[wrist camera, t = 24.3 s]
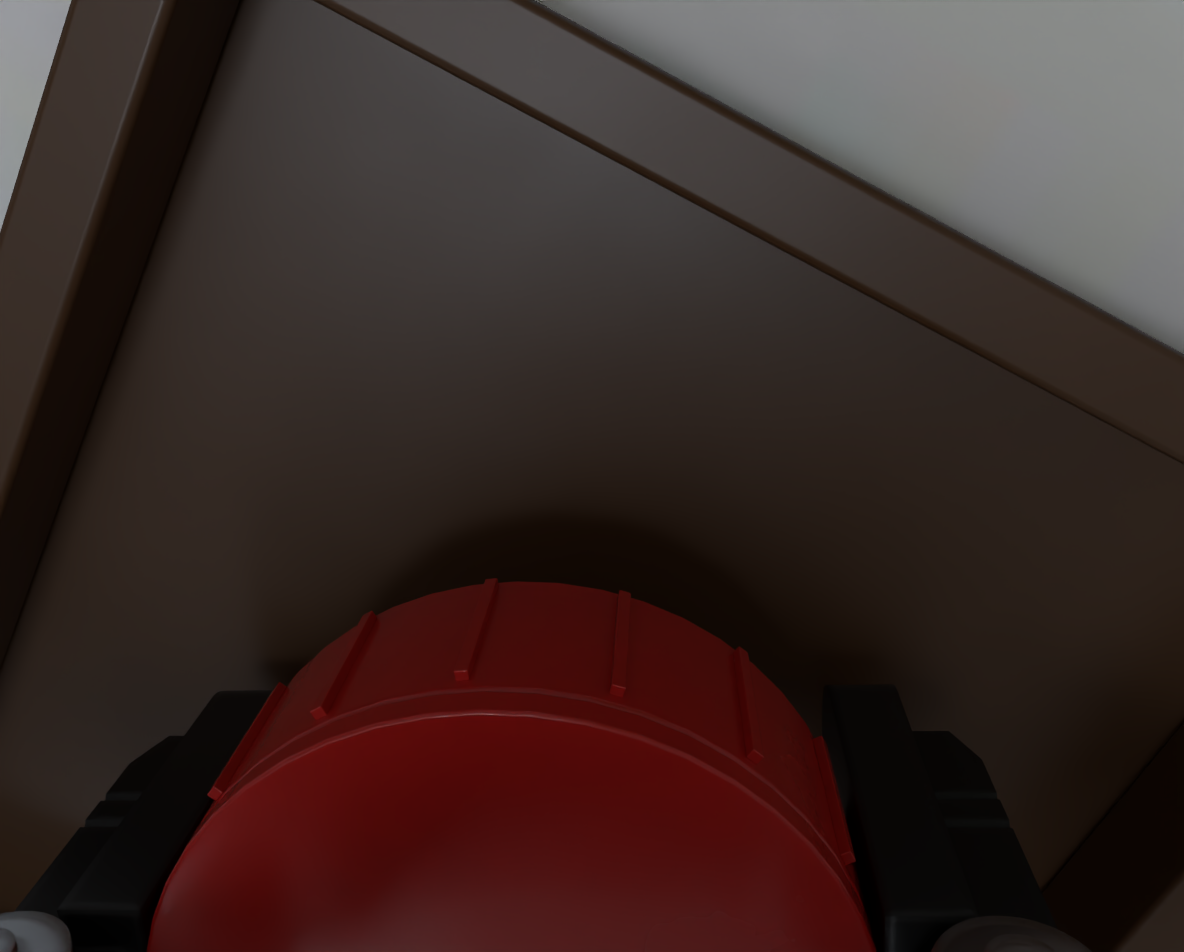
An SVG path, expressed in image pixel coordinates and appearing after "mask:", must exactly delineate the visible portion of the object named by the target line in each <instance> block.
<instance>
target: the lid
mask: <svg viewBox="0 0 1184 952" xmlns="http://www.w3.org/2000/svg"><path fill="white" fill-rule="evenodd" d="M207 795H208V796H209V797H210V798H212V799H213V800H214V801H213V803H212V805H211V806H210V808H209V810H208V811H207V813H206V814H205V816H204V818H203V819H202V821H201V823H200V825H199V826H198V827H197V829H196V831H195V832H194V834H193V836H192V837H191V839H190V840H189V842H188V844H187V845H186V847H185V849H184V851H183V852H182V854H181V856H180V858H179V859H178V861H177V863H176V865H175V866H174V868H173V870H172V872H171V873H170V875H169V877H168V879H167V880H166V883H165V885H164V888H163V891H162V893H161V896H160V899H159V902H158V904H157V907H156V910H155V913H154V915H153V918H152V924H151V929H150V935H149V940H148V946H147V951H146V952H877V949H876V945H875V941H874V937H873V933H872V930H871V925H870V921H869V917H868V913H867V909H866V905H865V901H864V897H863V893H862V889H861V885H860V881H859V877H858V873H857V869H856V865H855V861H856V859H855V855H854V851H853V847H852V843H851V839H850V835H849V831H848V827H847V823H846V820H845V816H844V812H843V808H842V804H841V800H840V796H839V792H838V788H837V784H836V780H835V776H834V772H833V768H832V764H831V760H830V756H829V752H828V748H827V744H826V742H825V740H824V738H823V737H822V736H819V737H816V738H814V737H813V735H812V733H811V732H810V730H809V728H808V726H807V725H806V723H805V721H804V720H803V719H802V717H801V716H800V715H799V714H798V712H797V711H796V710H795V708H794V707H793V706H792V704H791V703H790V702H789V701H788V699H787V698H786V697H785V695H784V694H783V693H782V692H781V691H780V690H779V689H778V688H777V687H776V686H775V685H774V684H773V683H772V682H771V681H770V680H769V679H768V678H767V677H766V676H765V675H764V674H763V673H762V672H761V671H760V670H759V669H758V668H757V667H756V666H755V665H754V664H753V663H752V662H750V661H749V656H748V652H746V651H745V650H744V649H742V648H741V647H738V648H737V649H736V650H734V649H733V648H732V647H730V646H729V645H728V644H726V643H725V642H724V641H722V640H721V639H719V638H718V637H716V636H714V635H712V634H711V633H709V632H707V631H705V630H704V629H702V628H700V627H698V626H697V625H695V624H693V623H691V622H689V621H688V620H686V619H684V618H682V617H680V616H678V615H675V614H673V613H670V612H668V611H666V610H663V609H661V608H658V607H656V606H654V605H651V604H649V603H646V602H644V601H641V600H637V599H634V598H631V593H629V592H625V591H622V590H619V593H618V594H616V593H612V592H609V591H605V590H602V589H595V588H589V587H583V586H576V585H570V584H563V583H550V582H522V581H514V582H502V583H498V579H497V578H493V579H485V582H484V584H478V585H471V586H466V587H461V588H457V589H452V590H447V591H442V592H438V593H433V594H429V595H426V596H424V597H421V598H418V599H415V600H412V601H409V602H406V603H403V604H401V605H398V606H395V607H392V608H390V609H388V610H386V611H384V612H382V613H380V614H378V615H375V614H374V612H373V611H370V612H368V613H366V614H364V615H363V616H362V618H361V619H360V621H359V623H358V625H357V626H355V627H354V628H352V629H351V630H349V631H348V632H346V633H345V634H343V635H342V636H341V637H339V638H338V639H336V640H335V641H333V642H332V643H330V644H329V645H327V646H326V647H325V648H324V649H323V650H322V651H321V652H319V653H318V654H317V655H316V656H315V657H314V658H313V659H312V660H311V661H310V662H309V663H308V664H306V665H305V666H304V667H303V668H302V669H301V670H300V671H299V672H298V673H297V674H296V676H295V677H294V678H293V679H292V681H291V682H290V683H289V684H288V686H285V685H284V684H282V683H281V682H279V683H278V684H277V685H276V687H275V688H274V689H273V691H272V692H271V694H270V695H269V697H268V699H267V700H266V702H265V703H264V705H263V707H262V708H261V710H260V711H259V713H258V715H257V716H256V718H255V719H254V721H253V722H252V724H251V726H250V727H249V729H248V730H247V732H246V734H245V735H244V737H243V738H242V740H241V741H240V743H239V745H238V746H237V748H236V749H235V751H234V753H233V754H232V756H231V757H230V759H229V761H228V762H227V764H226V765H225V767H224V768H223V770H222V772H221V773H220V775H219V776H218V778H217V780H216V781H215V783H214V784H213V786H212V788H211V789H210V791H209V792H208V794H207Z"/></svg>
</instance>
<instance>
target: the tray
mask: <svg viewBox="0 0 1184 952" xmlns="http://www.w3.org/2000/svg"><path fill="white" fill-rule="evenodd" d="M493 578H497V579H498V583H502V582H514V581H522V582H550V583H563V584H570V585H576V586H583V587H589V588H595V589H602V590H605V591H609V592H612V593H616V594H618V593H619V590H622V591H625V592H629V593H631V598H634V599H637V600H641V601H644V602H646V603H649V604H651V605H654V606H656V607H658V608H661V609H663V610H666V611H668V612H670V613H673V614H675V615H678V616H680V617H682V618H684V619H686V620H688V621H689V622H691V623H693V624H695V625H697V626H698V627H700V628H702V629H704V630H705V631H707V632H709V633H711V634H712V635H714V636H716V637H718V638H719V639H721V640H722V641H724V642H725V643H726V644H728V645H729V646H730V647H732V648H733V649H734V650H736V649H737V648H738V647H741V648H742V649H744V650H745V651H746V652H748V656H749V661H750V662H752V663H753V664H754V665H755V666H756V667H757V668H758V669H759V670H760V671H761V672H762V673H763V674H764V675H765V676H766V677H767V678H768V679H769V680H770V681H771V682H772V683H773V684H774V685H775V686H776V687H777V688H778V689H779V690H780V691H781V692H782V693H783V694H784V695H785V697H786V698H787V699H788V701H789V702H790V703H791V704H792V706H793V707H794V708H795V710H796V711H797V712H798V714H799V715H800V716H801V717H802V719H803V720H804V721H805V723H806V725H807V726H808V728H809V730H810V732H811V733H812V735H813V737H814V738H816V737H819V736H822V701H823V691H824V687H825V685H882V684H893V685H895V687H896V688H897V691H898V693H899V696H900V699H901V702H902V704H903V707H904V710H905V713H906V715H907V718H908V721H909V724H910V727H911V729H912V731H950V732H951V733H952V734H953V735H954V736H955V737H957V738H958V739H959V740H960V741H961V742H962V743H964V744H965V745H966V746H967V747H968V748H969V749H971V750H972V751H973V752H974V753H975V754H976V755H978V756H979V757H980V758H981V759H982V760H983V763H984V765H985V767H986V769H987V772H988V774H989V776H990V778H991V781H992V783H993V785H994V787H995V790H996V792H997V799H1000V801H1001V803H1002V805H1003V807H1004V810H1005V812H1006V814H1007V816H1008V819H1009V824H1010V828H1013V830H1014V832H1015V834H1016V836H1017V839H1018V841H1019V843H1020V845H1021V848H1022V850H1023V852H1024V854H1025V857H1026V859H1027V861H1028V863H1029V865H1030V868H1031V870H1032V872H1033V874H1034V877H1035V879H1036V881H1037V883H1038V886H1039V888H1040V890H1041V892H1042V895H1043V897H1044V899H1045V901H1046V903H1047V906H1048V908H1049V910H1050V912H1051V915H1052V917H1053V919H1054V921H1055V924H1056V926H1057V928H1058V930H1060V931H1062V932H1064V933H1066V934H1068V935H1069V936H1071V937H1073V938H1074V939H1076V940H1078V941H1079V942H1081V943H1082V944H1083V945H1084V946H1086V947H1087V948H1088V949H1090V950H1091V951H1092V952H1184V354H1182V353H1181V352H1179V351H1177V350H1175V349H1173V348H1171V347H1170V346H1168V345H1166V344H1164V343H1162V342H1160V341H1159V340H1157V339H1155V338H1153V337H1151V336H1149V335H1148V334H1146V333H1144V332H1142V331H1140V330H1138V329H1136V328H1135V327H1133V326H1131V325H1129V324H1127V323H1125V322H1124V321H1122V320H1120V319H1118V318H1116V317H1114V316H1113V315H1111V314H1109V313H1107V312H1105V311H1103V310H1102V309H1100V308H1098V307H1096V306H1094V305H1092V304H1091V303H1089V302H1087V301H1085V300H1083V299H1081V298H1080V297H1078V296H1076V295H1074V294H1072V293H1070V292H1069V291H1067V290H1065V289H1063V288H1061V287H1059V286H1058V285H1056V284H1054V283H1052V282H1050V281H1048V280H1047V279H1045V278H1043V277H1041V276H1039V275H1037V274H1036V273H1034V272H1032V271H1030V270H1028V269H1026V268H1025V267H1023V266H1021V265H1019V264H1017V263H1015V262H1014V261H1012V260H1010V259H1008V258H1006V257H1004V256H1002V255H1001V254H999V253H997V252H995V251H993V250H991V249H990V248H988V247H986V246H984V245H982V244H980V243H979V242H977V241H975V240H973V239H971V238H969V237H968V236H966V235H964V234H962V233H960V232H958V231H957V230H955V229H953V228H951V227H949V226H947V225H946V224H944V223H942V222H940V221H938V220H936V219H935V218H933V217H931V216H929V215H927V214H925V213H924V212H922V211H920V210H918V209H916V208H914V207H913V206H911V205H909V204H907V203H905V202H903V201H902V200H900V199H898V198H896V197H894V196H892V195H891V194H889V193H887V192H885V191H883V190H881V189H880V188H878V187H876V186H874V185H872V184H870V183H869V182H867V181H865V180H863V179H861V178H859V177H857V176H856V175H854V174H852V173H850V172H848V171H846V170H845V169H843V168H841V167H839V166H837V165H835V164H834V163H832V162H830V161H828V160H826V159H824V158H823V157H821V156H819V155H817V154H815V153H813V152H812V151H810V150H808V149H806V148H804V147H802V146H801V145H799V144H797V143H795V142H793V141H791V140H790V139H788V138H786V137H784V136H782V135H780V134H779V133H777V132H775V131H773V130H771V129H769V128H768V127H766V126H764V125H762V124H760V123H758V122H757V121H755V120H753V119H751V118H749V117H747V116H746V115H744V114H742V113H740V112H738V111H736V110H735V109H733V108H731V107H729V106H727V105H725V104H723V103H722V102H720V101H718V100H716V99H714V98H712V97H711V96H709V95H707V94H705V93H703V92H701V91H700V90H698V89H696V88H694V87H692V86H690V85H689V84H687V83H685V82H683V81H681V80H679V79H678V78H676V77H674V76H672V75H670V74H668V73H667V72H665V71H663V70H661V69H659V68H657V67H656V66H654V65H652V64H650V63H648V62H646V61H645V60H643V59H641V58H639V57H637V56H635V55H634V54H632V53H630V52H628V51H626V50H624V49H623V48H621V47H619V46H617V45H615V44H613V43H612V42H610V41H608V40H606V39H604V38H602V37H601V36H599V35H597V34H595V33H593V32H591V31H590V30H588V29H586V28H584V27H582V26H580V25H578V24H577V23H575V22H573V21H571V20H569V19H567V18H566V17H564V16H562V15H560V14H558V13H556V12H555V11H553V10H551V9H549V8H547V7H545V6H544V5H542V4H540V3H538V2H536V1H534V0H72V1H71V4H70V7H69V11H68V14H67V17H66V20H65V24H64V27H63V30H62V33H61V37H60V40H59V43H58V46H57V50H56V53H55V56H54V59H53V63H52V66H51V69H50V72H49V76H48V79H47V82H46V85H45V89H44V92H43V95H42V98H41V102H40V105H39V108H38V111H37V115H36V118H35V121H34V125H33V128H32V131H31V134H30V138H29V141H28V144H27V147H26V151H25V154H24V157H23V160H22V164H21V167H20V170H19V173H18V177H17V180H16V183H15V186H14V190H13V193H12V196H11V199H10V203H9V206H8V209H7V212H6V216H5V219H4V222H3V225H2V229H1V232H0V914H1V913H6V912H14V911H15V910H16V908H17V907H18V906H19V904H20V903H21V902H22V901H23V899H24V898H25V897H26V896H27V894H28V893H29V892H30V890H31V889H32V888H33V887H34V885H35V884H36V883H37V881H38V880H39V879H40V878H41V876H42V875H43V874H44V872H45V871H46V870H47V869H48V867H49V866H50V865H51V864H52V862H53V861H54V860H55V858H56V857H57V856H58V855H59V853H60V852H61V851H62V849H63V848H64V847H65V846H66V844H67V843H68V842H69V840H70V839H71V838H72V837H73V835H74V834H75V833H76V832H77V830H78V829H79V828H80V827H85V820H86V819H87V817H88V816H89V815H90V814H91V812H92V811H93V810H94V808H95V807H96V806H97V805H98V803H99V802H100V801H105V798H106V795H105V794H106V793H107V792H108V791H109V789H110V788H111V787H112V785H113V784H114V783H115V782H116V780H117V779H118V778H119V776H120V775H121V774H122V773H123V771H124V770H125V769H126V768H127V766H128V765H129V764H130V763H131V762H132V761H134V760H135V759H137V758H138V757H139V756H141V755H142V754H144V753H145V752H147V751H148V750H149V749H151V748H152V747H154V746H155V745H157V744H158V743H160V742H161V741H162V740H164V739H165V738H167V737H168V736H184V735H185V734H186V733H187V731H188V730H189V728H190V727H191V726H192V724H193V723H194V722H195V720H196V719H197V717H198V716H199V715H200V713H201V712H202V711H203V709H204V708H205V707H206V705H207V704H208V702H209V701H210V700H211V698H212V697H213V696H214V695H215V694H216V693H217V692H219V691H247V690H273V689H274V688H275V687H276V685H277V684H278V683H279V682H281V683H282V684H284V685H285V686H288V684H289V683H290V682H291V681H292V679H293V678H294V677H295V676H296V674H297V673H298V672H299V671H300V670H301V669H302V668H303V667H304V666H305V665H306V664H308V663H309V662H310V661H311V660H312V659H313V658H314V657H315V656H316V655H317V654H318V653H319V652H321V651H322V650H323V649H324V648H325V647H326V646H327V645H329V644H330V643H332V642H333V641H335V640H336V639H338V638H339V637H341V636H342V635H343V634H345V633H346V632H348V631H349V630H351V629H352V628H354V627H355V626H357V625H358V623H359V621H360V619H361V618H362V616H363V615H364V614H366V613H368V612H370V611H373V612H374V614H375V615H378V614H380V613H382V612H384V611H386V610H388V609H390V608H392V607H395V606H398V605H401V604H403V603H406V602H409V601H412V600H415V599H418V598H421V597H424V596H426V595H429V594H433V593H438V592H442V591H447V590H452V589H457V588H461V587H466V586H471V585H478V584H484V582H485V579H493Z"/></svg>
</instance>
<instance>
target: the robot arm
mask: <svg viewBox="0 0 1184 952" xmlns="http://www.w3.org/2000/svg"><path fill="white" fill-rule="evenodd" d="M272 691H273V690H247V691H219V692H217V693H216V694H215V695H214V696H213V697H212V698H211V700H210V701H209V702H208V704H207V705H206V707H205V708H204V709H203V711H202V712H201V713H200V715H199V716H198V717H197V719H196V720H195V722H194V723H193V724H192V726H191V727H190V728H189V730H188V731H187V733H186V734H185V735H184V736H168V737H167V738H165V739H164V740H162V741H161V742H160V743H158V744H157V745H155V746H154V747H152V748H151V749H149V750H148V751H147V752H145V753H144V754H142V755H141V756H139V757H138V758H137V759H135V760H134V761H132V762H131V763H130V764H129V765H128V766H127V768H126V769H125V770H124V771H123V773H122V774H121V775H120V776H119V778H118V779H117V780H116V782H115V783H114V784H113V785H112V787H111V788H110V789H109V791H108V792H107V793H106V794H105V795H106V798H105V801H100V802H99V803H98V805H97V806H96V807H95V808H94V810H93V811H92V812H91V814H90V815H89V816H88V817H87V819H86V820H85V827H80V828H79V829H78V830H77V832H76V833H75V834H74V835H73V837H72V838H71V839H70V840H69V842H68V843H67V844H66V846H65V847H64V848H63V849H62V851H61V852H60V853H59V855H58V856H57V857H56V858H55V860H54V861H53V862H52V864H51V865H50V866H49V867H48V869H47V870H46V871H45V872H44V874H43V875H42V876H41V878H40V879H39V880H38V881H37V883H36V884H35V885H34V887H33V888H32V889H31V890H30V892H29V893H28V894H27V896H26V897H25V898H24V899H23V901H22V902H21V903H20V904H19V906H18V907H17V908H16V910H15V911H14V912H6V913H1V914H0V952H146V951H147V946H148V940H149V935H150V929H151V924H152V918H153V915H154V913H155V910H156V907H157V904H158V902H159V899H160V896H161V893H162V891H163V888H164V885H165V883H166V880H167V879H168V877H169V875H170V873H171V872H172V870H173V868H174V866H175V865H176V863H177V861H178V859H179V858H180V856H181V854H182V852H183V851H184V849H185V847H186V845H187V844H188V842H189V840H190V839H191V837H192V836H193V834H194V832H195V831H196V829H197V827H198V826H199V825H200V823H201V821H202V819H203V818H204V816H205V814H206V813H207V811H208V810H209V808H210V806H211V805H212V803H213V801H214V800H213V799H212V798H210V797H209V796H208V795H207V794H208V792H209V791H210V789H211V788H212V786H213V784H214V783H215V781H216V780H217V778H218V776H219V775H220V773H221V772H222V770H223V768H224V767H225V765H226V764H227V762H228V761H229V759H230V757H231V756H232V754H233V753H234V751H235V749H236V748H237V746H238V745H239V743H240V741H241V740H242V738H243V737H244V735H245V734H246V732H247V730H248V729H249V727H250V726H251V724H252V722H253V721H254V719H255V718H256V716H257V715H258V713H259V711H260V710H261V708H262V707H263V705H264V703H265V702H266V700H267V699H268V697H269V695H270V694H271V692H272ZM822 737H823V738H824V740H825V742H826V744H827V748H828V752H829V756H830V760H831V764H832V768H833V772H834V776H835V780H836V784H837V788H838V792H839V796H840V800H841V804H842V808H843V812H844V816H845V820H846V823H847V827H848V831H849V835H850V839H851V843H852V847H853V851H854V855H855V859H856V861H855V865H856V869H857V873H858V877H859V881H860V885H861V889H862V893H863V897H864V901H865V905H866V909H867V913H868V917H869V921H870V925H871V930H872V933H873V937H874V941H875V945H876V949H877V952H1092V951H1091V950H1090V949H1088V948H1087V947H1086V946H1084V945H1083V944H1082V943H1081V942H1079V941H1078V940H1076V939H1074V938H1073V937H1071V936H1069V935H1068V934H1066V933H1064V932H1062V931H1060V930H1058V928H1057V926H1056V924H1055V921H1054V919H1053V917H1052V915H1051V912H1050V910H1049V908H1048V906H1047V903H1046V901H1045V899H1044V897H1043V895H1042V892H1041V890H1040V888H1039V886H1038V883H1037V881H1036V879H1035V877H1034V874H1033V872H1032V870H1031V868H1030V865H1029V863H1028V861H1027V859H1026V857H1025V854H1024V852H1023V850H1022V848H1021V845H1020V843H1019V841H1018V839H1017V836H1016V834H1015V832H1014V830H1013V828H1010V824H1009V819H1008V816H1007V814H1006V812H1005V810H1004V807H1003V805H1002V803H1001V801H1000V799H997V792H996V790H995V787H994V785H993V783H992V781H991V778H990V776H989V774H988V772H987V769H986V767H985V765H984V763H983V760H982V759H981V758H980V757H979V756H978V755H976V754H975V753H974V752H973V751H972V750H971V749H969V748H968V747H967V746H966V745H965V744H964V743H962V742H961V741H960V740H959V739H958V738H957V737H955V736H954V735H953V734H952V733H951V732H950V731H912V729H911V727H910V724H909V721H908V718H907V715H906V713H905V710H904V707H903V704H902V702H901V699H900V696H899V693H898V691H897V688H896V687H895V685H893V684H882V685H825V687H824V691H823V701H822Z"/></svg>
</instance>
